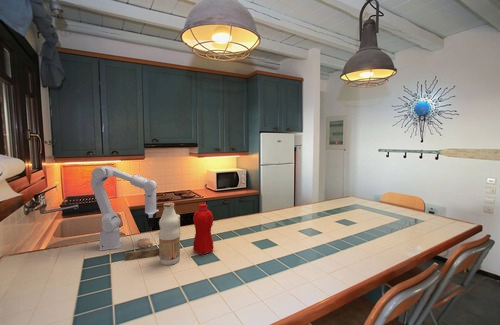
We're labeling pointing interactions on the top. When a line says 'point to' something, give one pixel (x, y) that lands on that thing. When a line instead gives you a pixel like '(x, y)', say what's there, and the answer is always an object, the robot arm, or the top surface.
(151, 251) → the mortise joint
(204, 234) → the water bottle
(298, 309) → the top surface
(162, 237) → the fruit juice
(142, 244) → the tan rounded pebble
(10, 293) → the top surface
